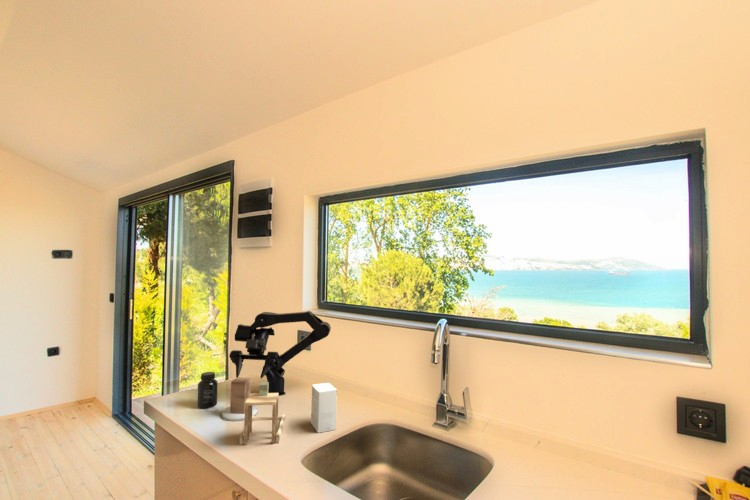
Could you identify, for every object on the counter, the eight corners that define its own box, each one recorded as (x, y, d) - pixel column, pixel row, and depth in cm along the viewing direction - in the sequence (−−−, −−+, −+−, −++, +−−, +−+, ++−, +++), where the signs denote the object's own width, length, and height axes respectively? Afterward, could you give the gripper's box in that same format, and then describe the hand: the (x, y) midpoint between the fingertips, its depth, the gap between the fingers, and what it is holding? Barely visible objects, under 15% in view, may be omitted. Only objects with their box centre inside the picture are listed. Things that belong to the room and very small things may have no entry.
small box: (336, 429, 120) (337, 389, 121) (317, 433, 117) (318, 392, 118) (328, 420, 127) (329, 382, 128) (310, 423, 125) (311, 384, 125)
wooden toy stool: (249, 432, 117) (250, 382, 117) (277, 430, 118) (278, 381, 118) (243, 444, 109) (245, 390, 109) (274, 443, 110) (275, 390, 110)
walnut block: (236, 407, 133) (237, 377, 134) (249, 408, 133) (250, 377, 134) (230, 413, 128) (231, 381, 129) (244, 414, 128) (245, 382, 129)
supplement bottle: (220, 402, 141) (221, 371, 141) (210, 409, 134) (212, 376, 135) (203, 401, 142) (204, 370, 142) (193, 408, 135) (194, 375, 135)
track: (251, 419, 127) (251, 412, 127) (285, 417, 128) (285, 411, 128) (239, 444, 109) (239, 436, 109) (278, 443, 111) (278, 434, 111)
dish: (252, 405, 139) (252, 401, 139) (261, 416, 129) (261, 412, 129) (219, 411, 133) (219, 408, 133) (225, 423, 123) (225, 420, 123)
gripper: (232, 329, 145) (218, 365, 134) (279, 331, 145) (269, 367, 133) (239, 345, 153) (226, 380, 141) (283, 347, 152) (274, 382, 141)
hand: (248, 377), depth 139 cm, fingers open, 9 cm apart
